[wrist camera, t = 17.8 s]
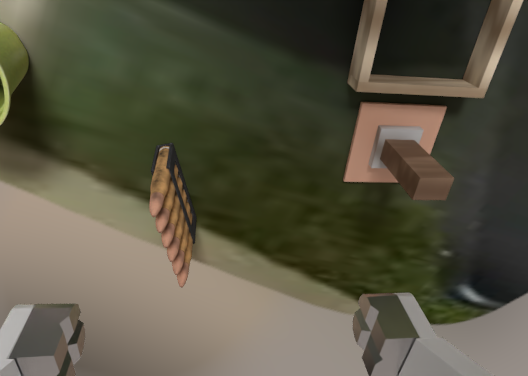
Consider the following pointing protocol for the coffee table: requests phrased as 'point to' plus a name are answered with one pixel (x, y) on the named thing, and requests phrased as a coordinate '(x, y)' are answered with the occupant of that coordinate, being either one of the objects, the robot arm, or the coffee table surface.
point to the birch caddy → (472, 85)
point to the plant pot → (10, 67)
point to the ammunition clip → (172, 209)
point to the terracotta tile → (393, 116)
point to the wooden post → (410, 162)
